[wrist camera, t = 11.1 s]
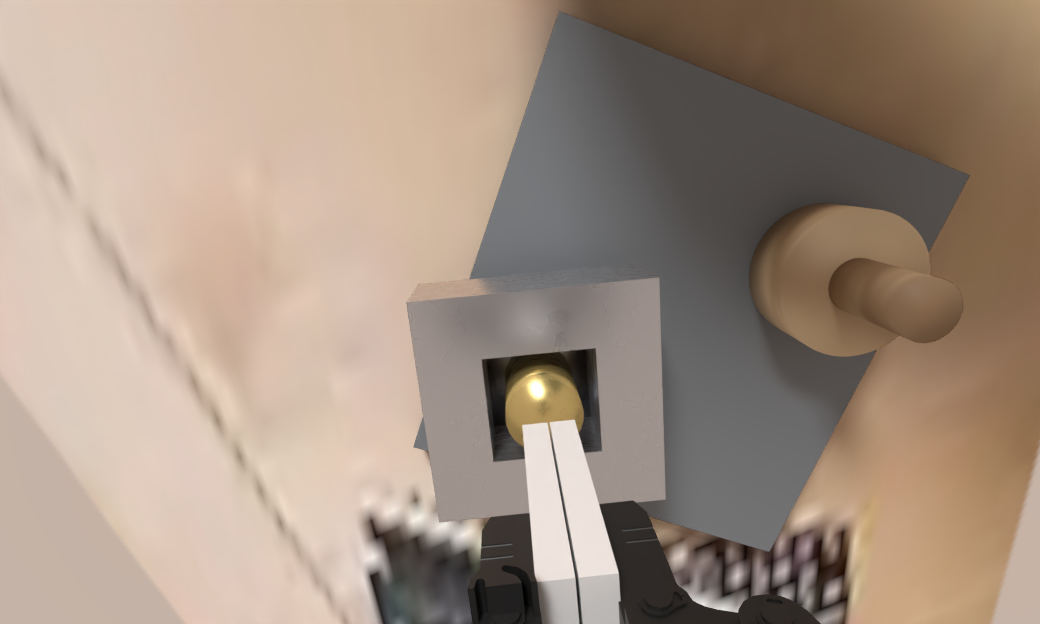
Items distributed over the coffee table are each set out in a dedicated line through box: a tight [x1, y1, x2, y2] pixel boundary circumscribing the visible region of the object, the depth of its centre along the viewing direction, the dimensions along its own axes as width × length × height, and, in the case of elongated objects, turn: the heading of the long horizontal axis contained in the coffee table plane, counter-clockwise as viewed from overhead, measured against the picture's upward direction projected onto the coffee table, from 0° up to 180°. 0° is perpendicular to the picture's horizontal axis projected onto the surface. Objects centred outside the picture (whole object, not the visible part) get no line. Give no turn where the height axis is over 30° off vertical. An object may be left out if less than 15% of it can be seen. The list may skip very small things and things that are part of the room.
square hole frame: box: [406, 263, 666, 522], centre depth 23 cm, size 9×9×3 cm
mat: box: [414, 11, 970, 552], centre depth 26 cm, size 20×19×1 cm
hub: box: [487, 349, 590, 447], centre depth 23 cm, size 7×7×6 cm
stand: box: [749, 203, 963, 357], centre depth 22 cm, size 6×6×7 cm
